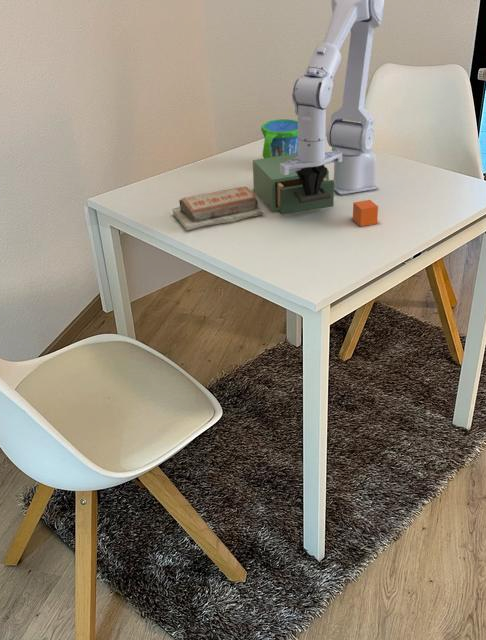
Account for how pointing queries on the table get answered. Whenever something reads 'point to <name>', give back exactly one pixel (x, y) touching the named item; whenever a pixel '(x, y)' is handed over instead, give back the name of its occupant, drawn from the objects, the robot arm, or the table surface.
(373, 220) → the cube
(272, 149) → the snack cup
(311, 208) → the drawer
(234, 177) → the table surface
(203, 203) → the packaged product
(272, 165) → the small green cabinet
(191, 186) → the table surface
